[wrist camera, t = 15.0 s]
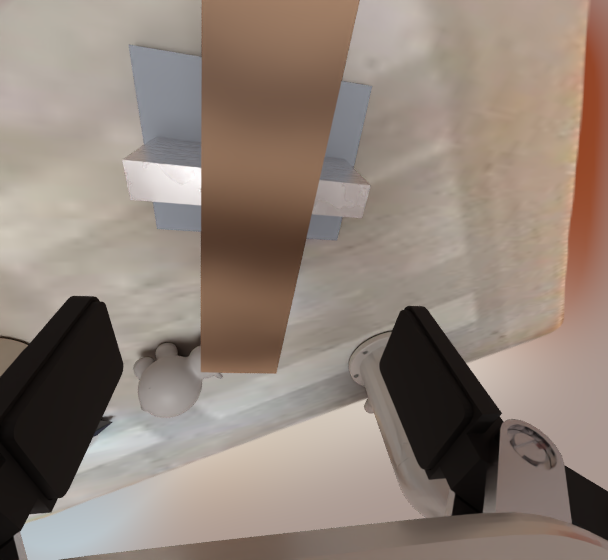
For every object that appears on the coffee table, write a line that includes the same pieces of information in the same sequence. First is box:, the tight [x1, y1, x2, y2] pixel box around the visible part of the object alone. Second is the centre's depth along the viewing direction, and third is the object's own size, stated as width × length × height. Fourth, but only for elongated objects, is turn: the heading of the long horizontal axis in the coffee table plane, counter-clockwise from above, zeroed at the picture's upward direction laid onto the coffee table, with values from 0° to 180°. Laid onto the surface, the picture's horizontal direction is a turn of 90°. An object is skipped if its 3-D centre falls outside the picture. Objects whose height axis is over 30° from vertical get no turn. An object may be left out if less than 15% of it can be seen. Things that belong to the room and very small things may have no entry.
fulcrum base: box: [129, 45, 372, 240], centre depth 27 cm, size 14×18×2 cm
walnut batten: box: [201, 0, 360, 373], centre depth 17 cm, size 20×5×7 cm, turn 169°
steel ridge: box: [122, 137, 371, 218], centre depth 23 cm, size 2×16×8 cm, turn 82°
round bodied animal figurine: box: [133, 343, 223, 418], centre depth 37 cm, size 7×12×8 cm, turn 109°
